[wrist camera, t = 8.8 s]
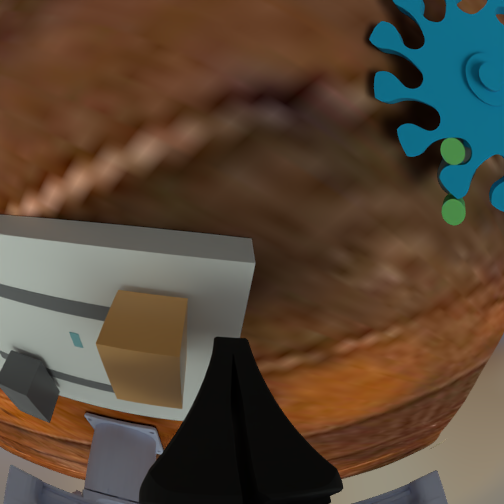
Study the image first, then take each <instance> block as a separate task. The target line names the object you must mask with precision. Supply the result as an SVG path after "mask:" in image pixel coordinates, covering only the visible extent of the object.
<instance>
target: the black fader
mask: <svg viewBox="0 0 504 504" xmlns="http://www.w3.org/2000/svg"><path fill="white" fill-rule="evenodd" d="M0 388H1V389H2V390H3V391H4V393H5V394H6V395H7V396H8V397H9V398H10V400H11V401H12V402H13V403H14V404H15V405H16V406H17V407H18V409H19V410H21V411H23V412H25V413H27V414H30V415H32V416H34V417H37V418H39V419H42V420H44V421H47V422H49V423H50V421H51V417H52V414H53V411H54V408H55V404H56V401H57V398H58V395H59V393H60V391H59V389H58V388H57V386H56V384H55V383H54V381H53V380H52V378H51V377H50V375H49V373H48V372H47V370H46V368H45V367H44V365H43V363H42V361H40V360H37V359H34V358H32V357H29V356H26V355H23V354H20V353H18V352H15V351H13V350H11V351H10V353H9V355H8V357H7V359H6V361H5V363H4V365H3V367H2V369H1V371H0Z"/></svg>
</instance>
